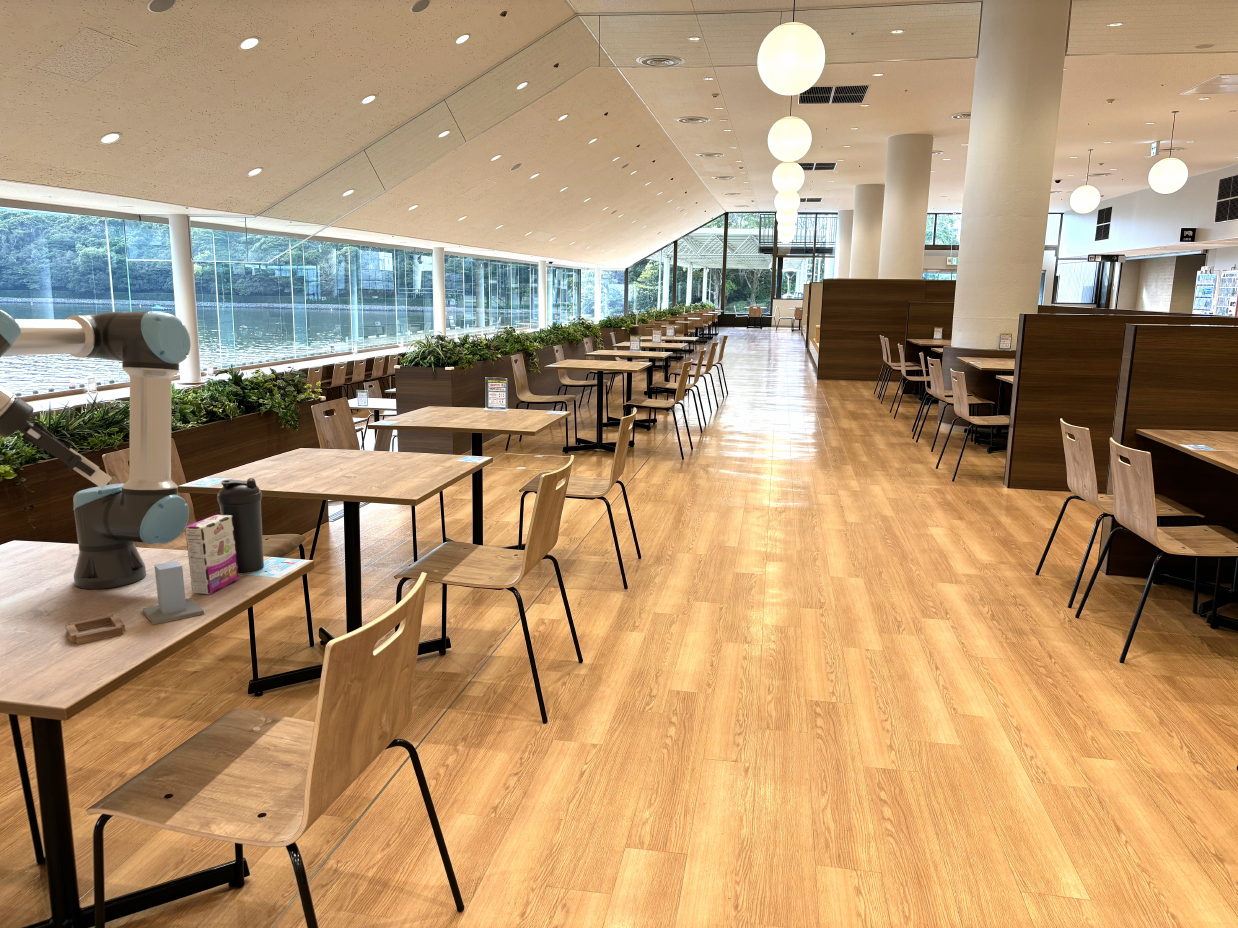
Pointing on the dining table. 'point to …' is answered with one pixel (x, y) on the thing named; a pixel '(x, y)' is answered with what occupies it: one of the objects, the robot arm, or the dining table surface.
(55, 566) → the dining table surface
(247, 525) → the water bottle
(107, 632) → the walnut pocket frame
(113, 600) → the dining table surface
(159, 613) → the grey rubber mat
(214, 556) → the candy bar box
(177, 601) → the dusty blue painted block
